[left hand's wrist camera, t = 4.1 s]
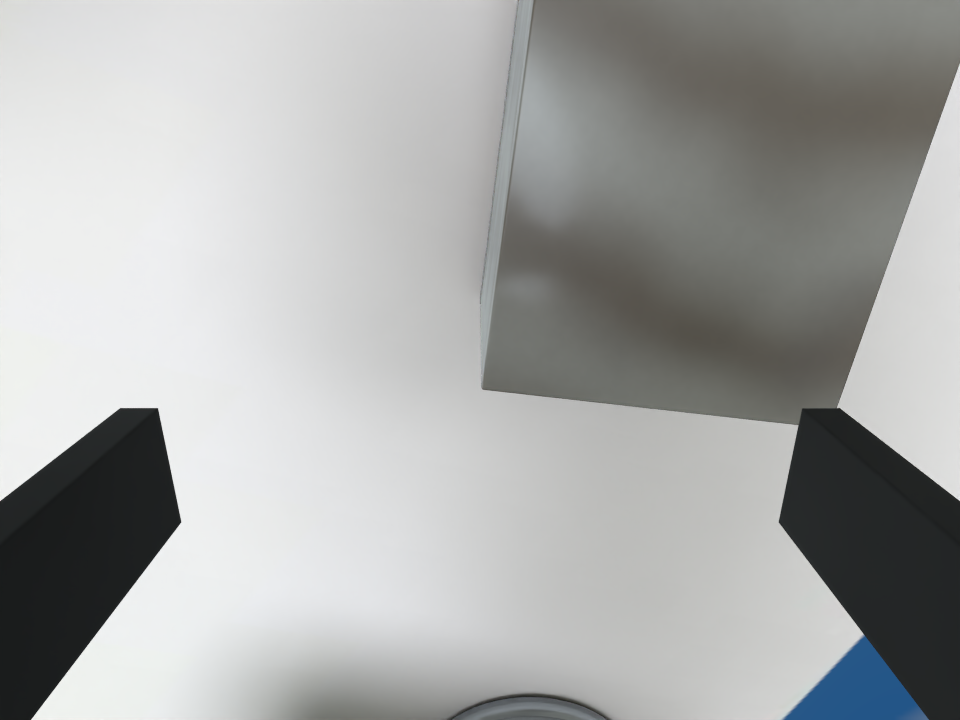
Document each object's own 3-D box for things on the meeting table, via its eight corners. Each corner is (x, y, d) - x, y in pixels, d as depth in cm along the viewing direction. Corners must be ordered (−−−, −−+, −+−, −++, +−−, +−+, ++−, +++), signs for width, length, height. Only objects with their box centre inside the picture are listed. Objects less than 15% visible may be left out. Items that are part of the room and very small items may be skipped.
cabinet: (544, -214, 24) (603, -522, 13) (834, -169, 24) (1135, -425, 13) (480, 298, 31) (480, 390, 20) (705, 325, 31) (830, 429, 20)
